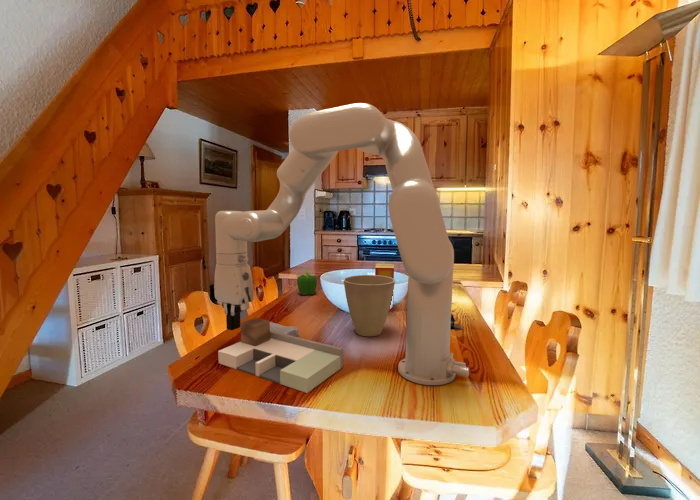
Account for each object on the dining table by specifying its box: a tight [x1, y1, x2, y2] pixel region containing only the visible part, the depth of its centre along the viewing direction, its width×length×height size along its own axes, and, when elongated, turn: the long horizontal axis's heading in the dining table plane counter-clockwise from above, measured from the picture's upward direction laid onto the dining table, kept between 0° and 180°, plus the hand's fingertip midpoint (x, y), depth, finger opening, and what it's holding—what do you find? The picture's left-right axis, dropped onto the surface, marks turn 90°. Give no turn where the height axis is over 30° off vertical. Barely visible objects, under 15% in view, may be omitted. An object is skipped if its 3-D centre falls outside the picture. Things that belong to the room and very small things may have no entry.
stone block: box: [270, 321, 300, 337], centre depth 99 cm, size 12×5×10 cm
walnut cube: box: [240, 317, 271, 346], centre depth 89 cm, size 5×5×5 cm
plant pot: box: [343, 274, 396, 337], centre depth 104 cm, size 15×15×16 cm
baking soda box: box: [374, 263, 395, 313], centre depth 129 cm, size 10×6×16 cm
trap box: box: [217, 331, 344, 394], centre depth 82 cm, size 26×14×4 cm, turn 60°
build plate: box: [450, 312, 464, 331], centre depth 110 cm, size 12×7×5 cm, turn 88°
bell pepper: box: [296, 269, 318, 296], centre depth 149 cm, size 8×8×10 cm
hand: (233, 328), depth 93 cm, fingers closed
